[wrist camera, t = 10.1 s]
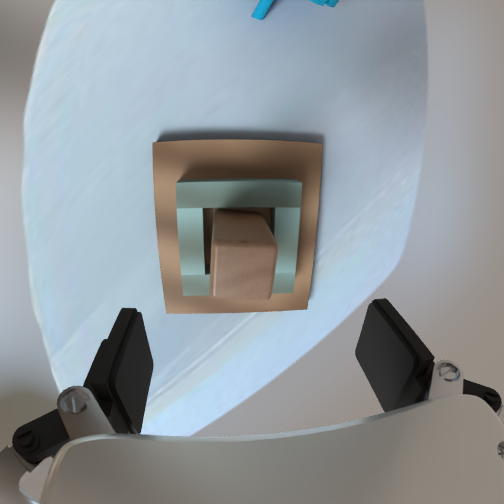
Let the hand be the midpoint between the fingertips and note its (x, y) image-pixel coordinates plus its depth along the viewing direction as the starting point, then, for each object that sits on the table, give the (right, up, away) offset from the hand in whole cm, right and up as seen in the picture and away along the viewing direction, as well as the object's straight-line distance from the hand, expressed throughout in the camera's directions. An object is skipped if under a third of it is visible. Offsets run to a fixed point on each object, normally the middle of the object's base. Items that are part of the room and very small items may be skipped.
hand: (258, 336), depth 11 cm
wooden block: (-2, +5, +14) cm, 15 cm away
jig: (-2, +5, +15) cm, 16 cm away
